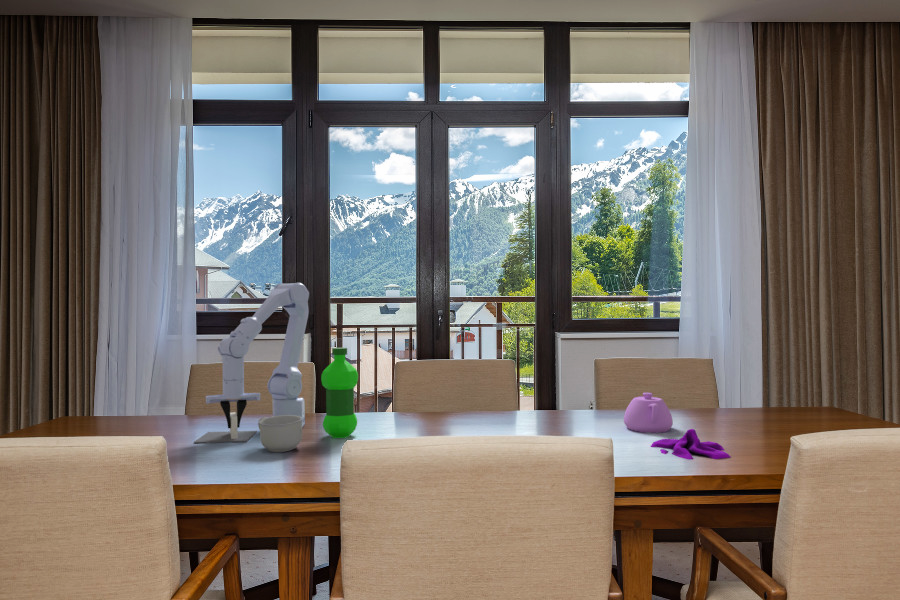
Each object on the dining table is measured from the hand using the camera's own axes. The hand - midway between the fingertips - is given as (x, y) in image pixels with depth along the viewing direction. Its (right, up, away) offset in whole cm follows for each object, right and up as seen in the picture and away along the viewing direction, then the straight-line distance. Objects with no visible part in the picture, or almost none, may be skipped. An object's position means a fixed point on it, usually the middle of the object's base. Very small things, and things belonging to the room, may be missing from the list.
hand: (233, 427), depth 178 cm
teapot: (+120, -2, +8) cm, 120 cm away
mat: (-2, -3, 0) cm, 4 cm away
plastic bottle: (+30, -3, +1) cm, 30 cm away
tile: (0, -3, 0) cm, 3 cm away
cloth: (+121, -3, -21) cm, 123 cm away
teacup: (+16, -3, -14) cm, 21 cm away
